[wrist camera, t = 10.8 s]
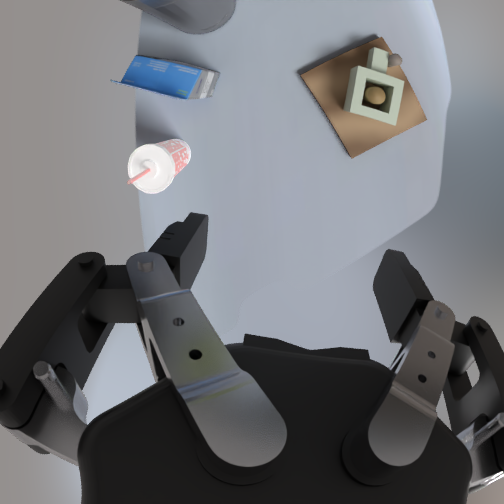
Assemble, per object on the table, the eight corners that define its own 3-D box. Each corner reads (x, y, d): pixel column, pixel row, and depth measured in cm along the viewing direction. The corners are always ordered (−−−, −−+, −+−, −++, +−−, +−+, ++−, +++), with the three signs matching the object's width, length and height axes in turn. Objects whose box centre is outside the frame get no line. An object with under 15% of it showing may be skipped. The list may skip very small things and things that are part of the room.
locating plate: (300, 75, 31) (302, 72, 27) (379, 38, 26) (390, 31, 23) (350, 157, 36) (357, 164, 32) (424, 119, 31) (438, 122, 27)
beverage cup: (149, 148, 38) (96, 174, 26) (181, 125, 36) (133, 141, 24) (171, 181, 41) (126, 219, 29) (204, 160, 39) (166, 192, 27)
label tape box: (221, 73, 32) (193, 63, 21) (211, 100, 34) (179, 101, 24) (164, 58, 31) (118, 48, 21) (155, 84, 33) (107, 84, 23)
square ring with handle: (385, 122, 32) (395, 125, 28) (343, 110, 32) (349, 111, 28) (396, 59, 27) (408, 56, 23) (354, 45, 27) (362, 40, 24)
